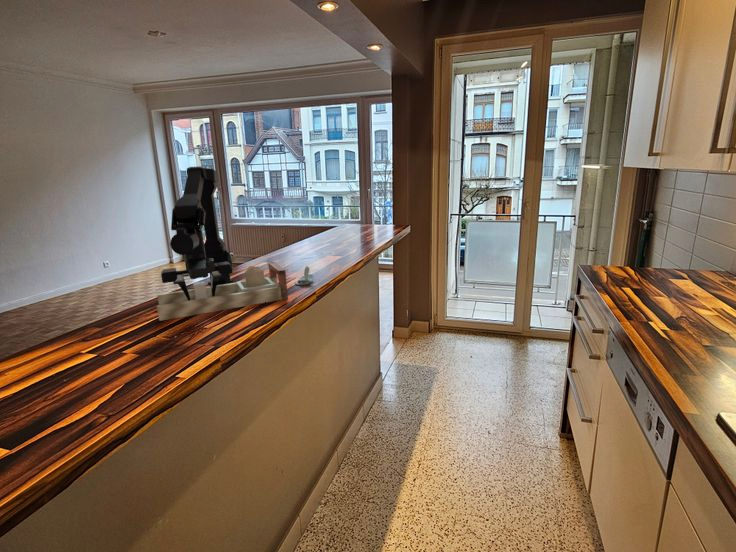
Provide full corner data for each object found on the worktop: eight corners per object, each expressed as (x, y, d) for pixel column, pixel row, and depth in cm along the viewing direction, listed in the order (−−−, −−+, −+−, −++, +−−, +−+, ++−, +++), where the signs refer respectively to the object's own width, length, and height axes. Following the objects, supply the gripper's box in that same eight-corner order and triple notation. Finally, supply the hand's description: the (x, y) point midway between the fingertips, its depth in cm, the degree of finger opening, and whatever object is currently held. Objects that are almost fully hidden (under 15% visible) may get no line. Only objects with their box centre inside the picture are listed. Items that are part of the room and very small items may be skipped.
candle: (268, 294, 130) (265, 264, 127) (262, 300, 124) (259, 268, 122) (251, 294, 130) (248, 264, 128) (245, 300, 125) (241, 268, 122)
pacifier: (292, 286, 138) (310, 286, 138) (290, 269, 137) (308, 268, 136) (298, 281, 145) (315, 280, 145) (296, 264, 144) (313, 263, 143)
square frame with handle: (198, 311, 116) (194, 288, 114) (195, 302, 124) (192, 280, 122) (276, 298, 125) (274, 276, 123) (269, 290, 134) (267, 269, 132)
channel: (159, 321, 110) (153, 289, 108) (159, 307, 122) (154, 278, 119) (287, 298, 125) (285, 270, 123) (277, 288, 137) (274, 262, 134)
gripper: (157, 257, 105) (167, 313, 109) (231, 248, 113) (238, 301, 117) (157, 250, 115) (166, 302, 119) (226, 242, 123) (232, 292, 127)
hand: (201, 300), depth 120 cm, fingers open, 6 cm apart
